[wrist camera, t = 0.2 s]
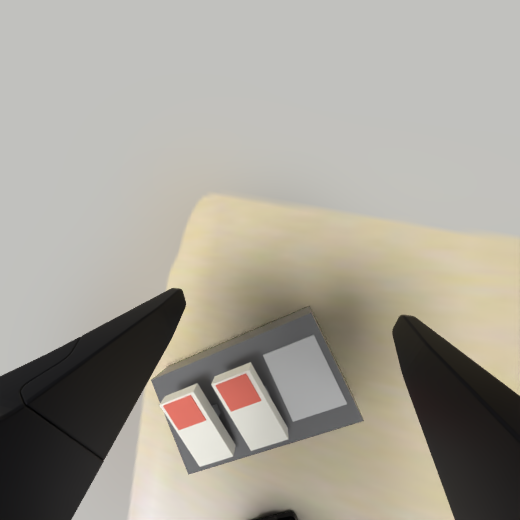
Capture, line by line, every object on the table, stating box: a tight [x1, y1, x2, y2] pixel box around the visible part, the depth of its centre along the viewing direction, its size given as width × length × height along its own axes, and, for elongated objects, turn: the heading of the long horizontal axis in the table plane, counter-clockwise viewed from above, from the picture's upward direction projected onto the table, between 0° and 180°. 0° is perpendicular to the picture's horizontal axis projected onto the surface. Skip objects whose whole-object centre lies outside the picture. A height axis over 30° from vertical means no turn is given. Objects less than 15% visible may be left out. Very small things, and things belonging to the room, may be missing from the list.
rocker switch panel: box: [151, 306, 363, 475], centre depth 22 cm, size 11×20×4 cm, turn 116°
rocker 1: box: [160, 383, 235, 467], centre depth 20 cm, size 8×4×1 cm, turn 25°
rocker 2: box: [211, 362, 288, 451], centre depth 19 cm, size 8×4×1 cm, turn 25°
